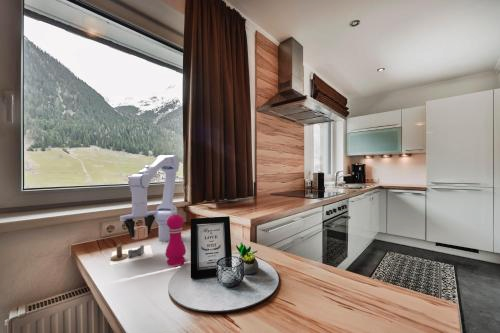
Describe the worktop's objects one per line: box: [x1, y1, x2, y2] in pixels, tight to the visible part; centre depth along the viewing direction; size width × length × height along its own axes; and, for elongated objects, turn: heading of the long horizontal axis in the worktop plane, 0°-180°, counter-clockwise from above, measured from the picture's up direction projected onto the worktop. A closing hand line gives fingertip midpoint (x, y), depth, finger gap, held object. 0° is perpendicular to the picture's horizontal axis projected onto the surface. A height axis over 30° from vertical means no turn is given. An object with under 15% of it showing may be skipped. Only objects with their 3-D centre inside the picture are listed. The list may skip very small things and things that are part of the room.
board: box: [109, 244, 154, 266], centre depth 91 cm, size 15×16×1 cm
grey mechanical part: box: [128, 245, 145, 258], centre depth 90 cm, size 6×5×3 cm
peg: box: [110, 244, 128, 261], centre depth 87 cm, size 6×6×5 cm
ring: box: [131, 225, 149, 240], centre depth 90 cm, size 6×6×4 cm
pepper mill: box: [165, 210, 187, 268], centre depth 82 cm, size 7×7×20 cm
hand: (140, 235), depth 90 cm, fingers closed on ring, 6 cm apart
